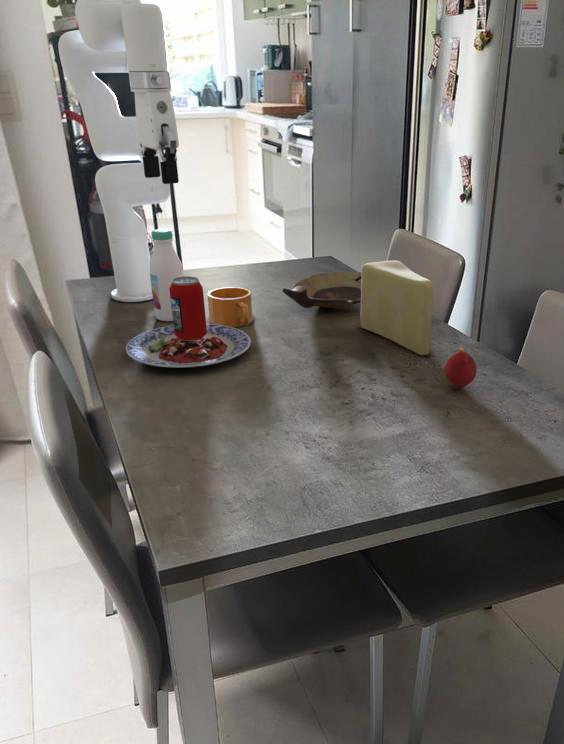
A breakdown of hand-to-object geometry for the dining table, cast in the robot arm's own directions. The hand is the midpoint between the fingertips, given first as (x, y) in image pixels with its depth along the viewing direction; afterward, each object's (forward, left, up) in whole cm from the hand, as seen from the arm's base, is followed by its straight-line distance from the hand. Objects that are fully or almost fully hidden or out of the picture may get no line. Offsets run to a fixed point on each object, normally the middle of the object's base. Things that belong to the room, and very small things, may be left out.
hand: (161, 180), depth 141 cm
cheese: (+31, +39, -32) cm, 60 cm away
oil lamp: (0, +40, -32) cm, 51 cm away
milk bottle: (-12, +3, -32) cm, 35 cm away
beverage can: (+12, -2, -29) cm, 32 cm away
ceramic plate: (+13, -3, -32) cm, 35 cm away
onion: (+58, +32, -32) cm, 74 cm away
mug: (0, +14, -32) cm, 35 cm away
